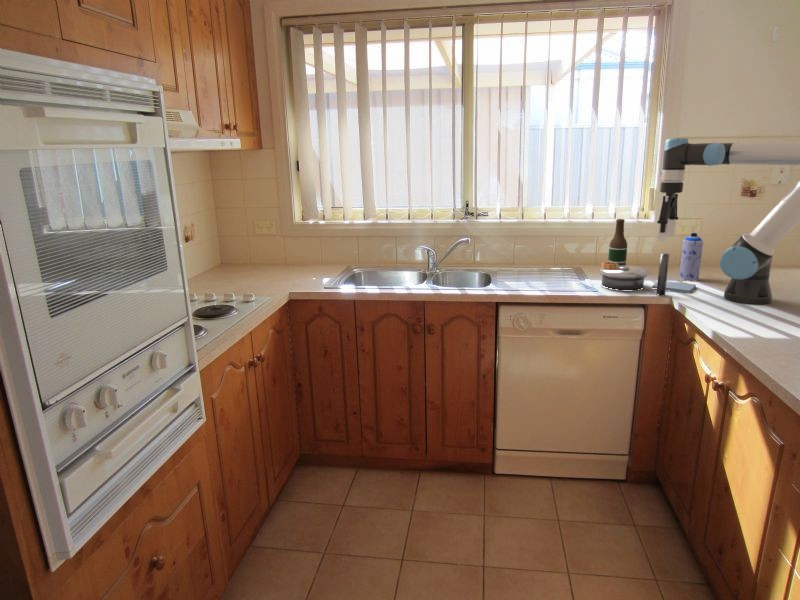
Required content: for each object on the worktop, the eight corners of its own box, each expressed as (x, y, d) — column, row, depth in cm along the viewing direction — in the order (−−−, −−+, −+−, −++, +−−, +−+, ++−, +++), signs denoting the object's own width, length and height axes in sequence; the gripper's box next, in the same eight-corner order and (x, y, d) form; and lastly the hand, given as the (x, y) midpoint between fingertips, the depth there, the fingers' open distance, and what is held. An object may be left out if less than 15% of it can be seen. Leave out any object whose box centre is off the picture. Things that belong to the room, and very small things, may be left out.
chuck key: (665, 294, 217) (670, 253, 213) (664, 295, 215) (668, 254, 211) (657, 293, 219) (661, 253, 215) (655, 294, 217) (659, 254, 213)
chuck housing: (647, 285, 233) (648, 273, 231) (637, 293, 220) (638, 280, 219) (608, 280, 242) (609, 269, 241) (596, 288, 229) (597, 276, 228)
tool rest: (695, 287, 228) (695, 284, 227) (690, 293, 218) (690, 290, 218) (658, 283, 236) (658, 280, 235) (651, 288, 226) (652, 286, 226)
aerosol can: (702, 281, 238) (708, 234, 233) (683, 281, 238) (689, 234, 233) (693, 277, 246) (698, 231, 241) (675, 277, 246) (680, 231, 241)
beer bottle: (607, 272, 259) (611, 220, 253) (607, 268, 266) (611, 218, 260) (625, 272, 257) (630, 220, 251) (624, 269, 264) (628, 218, 258)
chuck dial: (651, 272, 232) (652, 263, 231) (640, 280, 217) (641, 270, 216) (607, 268, 242) (608, 259, 241) (594, 275, 228) (594, 266, 227)
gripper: (668, 179, 218) (662, 234, 224) (653, 183, 199) (647, 242, 204) (689, 180, 214) (683, 235, 219) (676, 183, 194) (669, 244, 200)
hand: (666, 239), depth 212 cm, fingers open, 13 cm apart
